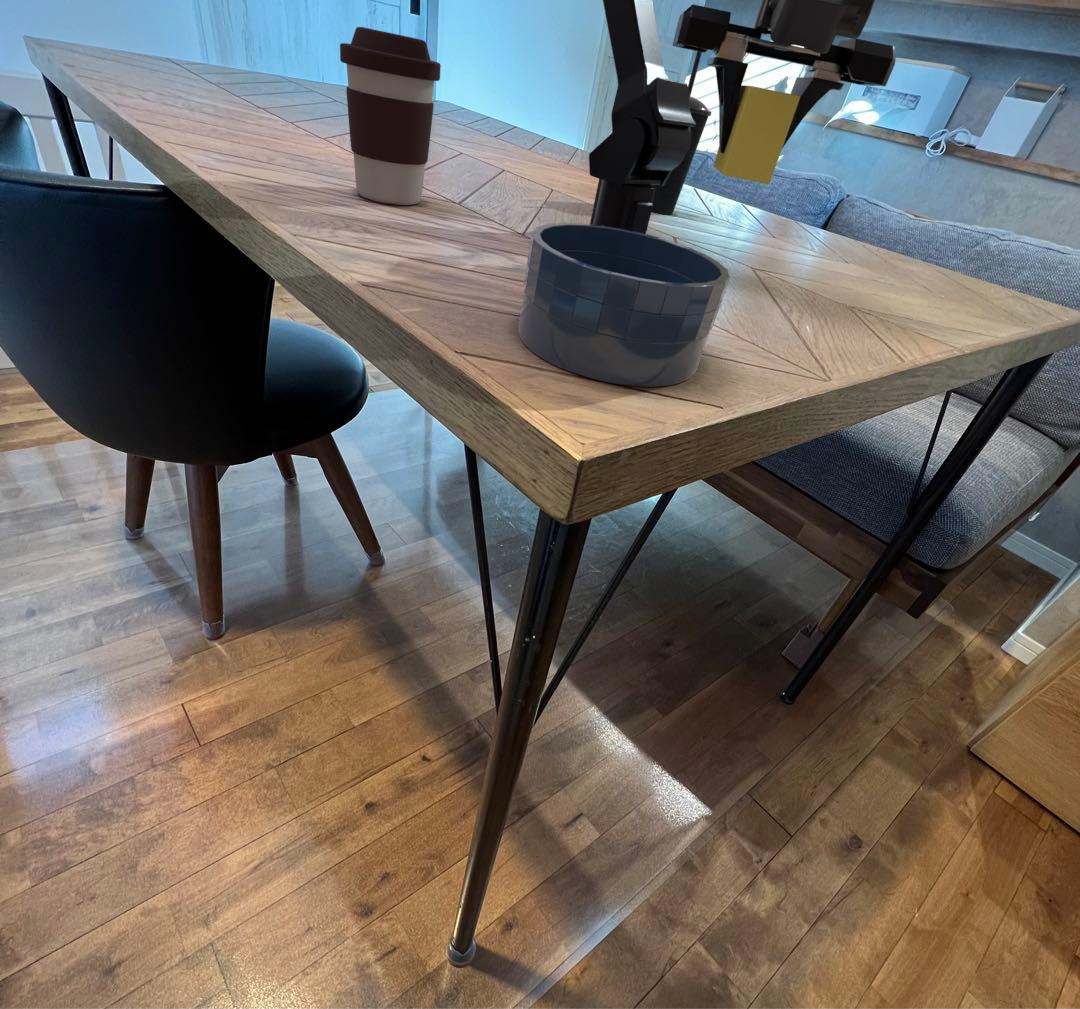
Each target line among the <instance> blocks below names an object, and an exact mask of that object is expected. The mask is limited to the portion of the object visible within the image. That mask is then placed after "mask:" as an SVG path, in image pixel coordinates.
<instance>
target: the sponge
mask: <svg viewBox="0 0 1080 1009" xmlns="http://www.w3.org/2000/svg"><path fill="white" fill-rule="evenodd" d="M799 99H800V96H797V95H793V94H791V93H787V92H784V91H783V92H782V91H777V90H773V89H768V88H763V87H758V86H753V85H743V84H742V85H741V88H740V93H739V98H738V102H737V107H736V112H735V116H734V121H733V126H732V131H731V134H730V137H729V140H728V143H727V146H726V149H725V152H724V153H720V152H719V148H717V153H716V155H715V158H714V162H713V167H714V169H716V170H717V171H718V172H719V173H720V174H722V175H723V176H725V177H730V178H734V179H735V178H736V179H740V180H744V181H750V182H754V183H759V184H764V185H771V181H772V178H773V175H774V173H775V170H776V167H777V164H778V161H779V158H780V157H781V156H780V155H781V153H782V150H783V148H784V147H783V144H784V142H785V139H786V136H787V133H788V130H789V128H790V125H791V122H792V119H793V116H794V113H795V111H796V108H797V105H798V102H799ZM782 147H783V148H782Z"/></svg>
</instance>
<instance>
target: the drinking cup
mask: <svg viewBox="0 0 1080 1009" xmlns="http://www.w3.org/2000/svg"><path fill="white" fill-rule="evenodd" d="M702 54H703V52H699V51H696V54H695V58H694V61H693V67H692V70H691V72H690V76H689V81H688V83H687V85H688V90H689V102H690V112H691V115H692V118H693V120H694V122H695V123H696V125H695V127H690V129H691V145H690V149H689V150H688V151H687V153H686V155H685V157H684V159H683V160H682V162H681V163H680V164H679V165H678V166H677V167H675V168H674V169H673V171H672V172H671V174H670V176H669V177H668V179H667V181H666V183H665V184H664V185H663V186H659V185H651V186H652V187H653V188H655V192H654V196H653V200H652V204H653V208H652V212H651V213H655V214H659V215H667V216H668V215H669V216H671V215H673V214H674V212H675V209H676V206H677V203H678V201H679V198H680V195H681V192H682V189H683V187H684V184H685V182H686V179H687V176H688V173H689V171H690V167H691V165H692V162H693V160H694V157H695V154H696V151H697V148H698V147H699V143H700V140H701V137H702V135H703V132H704V130H705V128H706V125H707V121H708V119H709V117H711V116H712V111H711V110H709V109H708V107H707V106H706V105H705V104H704V103H703V102H702V101H700V100H699V99H697V98H696V97H693V96H692V92H693V91H692V90H693V87H694V84H695V80H696V76H697V73H698V69H699V65H700V61H701V59H702V58H701V57H702Z"/></svg>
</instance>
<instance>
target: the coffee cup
mask: <svg viewBox="0 0 1080 1009" xmlns="http://www.w3.org/2000/svg"><path fill="white" fill-rule="evenodd" d="M339 55H340V56H339V59H340V62H341V63H342V64H346V73H347V75H346V76H347V86H346V89H345V90H346V91H345V92H346V103H347V104H346V105H347V116H348V128H349V139H350V150H351V152H352V153H353V163H354V164H353V165H354V178H355V179H354V180H355V189H356V192H357V194H358V195H359V196H361V197H363V198H365V199H367V200H370V201H373V202H376V203H382V204H388V205H399V206H412V205H416V204H419V203H420V202H421V201H422V198H423V188H424V180H425V171H426V170H425V169H426V164H427V163H428V161H429V160H428V159H429V151H430V143H431V142H430V141H431V135H432V134H431V133H432V126H433V114H434V102H433V97H434V96H433V94H434V87H435V86H434V84H435V82H439V81H440V80H441V67H442V66H441V63H440V62H437V61H435V60H432V59H431V56H430V53H429V47H428V45H427V41H425V40H423V39H420V38H415V37H411V36H406V35H403V34H397V33H393V32H388V31H383V30H378V29H373V28H368V27H363V26H356V28H355V29H354V33H353V35H352V39H351V42H350V43H347V42H341V43H340V44H339Z"/></svg>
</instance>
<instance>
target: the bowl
mask: <svg viewBox="0 0 1080 1009" xmlns="http://www.w3.org/2000/svg"><path fill="white" fill-rule="evenodd" d="M730 279H731V275H730V272H729V270H728V269H727V268H726V267H725V266H724V265H723V264H721V263H720V262H719V261H718V260H716V259H714V258H712V257H710V256H709V255H707V254H705V253H703V252H701V251H699V250H696V249H694V248H692V247H689V246H686V245H684V244H681V243H678V242H675V241H672V240H669V239H667V238H666V239H665V238H663V237H659V236H654V235H653V234H649V233H648V234H647V233H646V234H644V233H640V232H635V231H631V230H626V229H621V228H615V227H609V226H602V225H594V224H590V223H583V222H555V223H546V224H542V225H539V226H536V227H535V228H534V229H533V231H531V234H530V239H529V247H528V253H527V261H526V267H525V273H524V280H523V292H522V297H521V298H522V299H521V305H520V306H521V307H520V312H519V319H518V326H517V333H518V336H519V339H520V340H521V342H522V343H523V344H524V345H525V346H526V348H527V349H528V350H530V352H532V353H533V354H535V356H538V357H539V358H541V359H542V360H544V361H546V362H547V363H549V364H551V365H553V366H555V367H557V368H560V369H562V370H565V371H567V372H570V373H572V374H575V375H578V376H581V377H585V378H588V379H591V380H595V381H599V382H604V383H609V384H613V385H620V386H629V387H641V388H642V387H643V388H652V387H653V388H655V387H656V388H658V387H666V386H673V385H678V384H680V383H683V382H685V381H688V380H690V379H691V378H692V377H693V376H694V375H695V374H696V372H697V370H698V367H699V365H700V361H701V360H702V356H703V353H704V351H705V347H706V344H707V342H708V339H709V335H710V333H711V331H712V329H713V327H714V325H715V322H716V319H717V316H718V314H719V311H720V308H721V304H722V302H723V299H724V297H725V293H726V292H727V291H726V290H727V287H728V286H729V282H730Z"/></svg>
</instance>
